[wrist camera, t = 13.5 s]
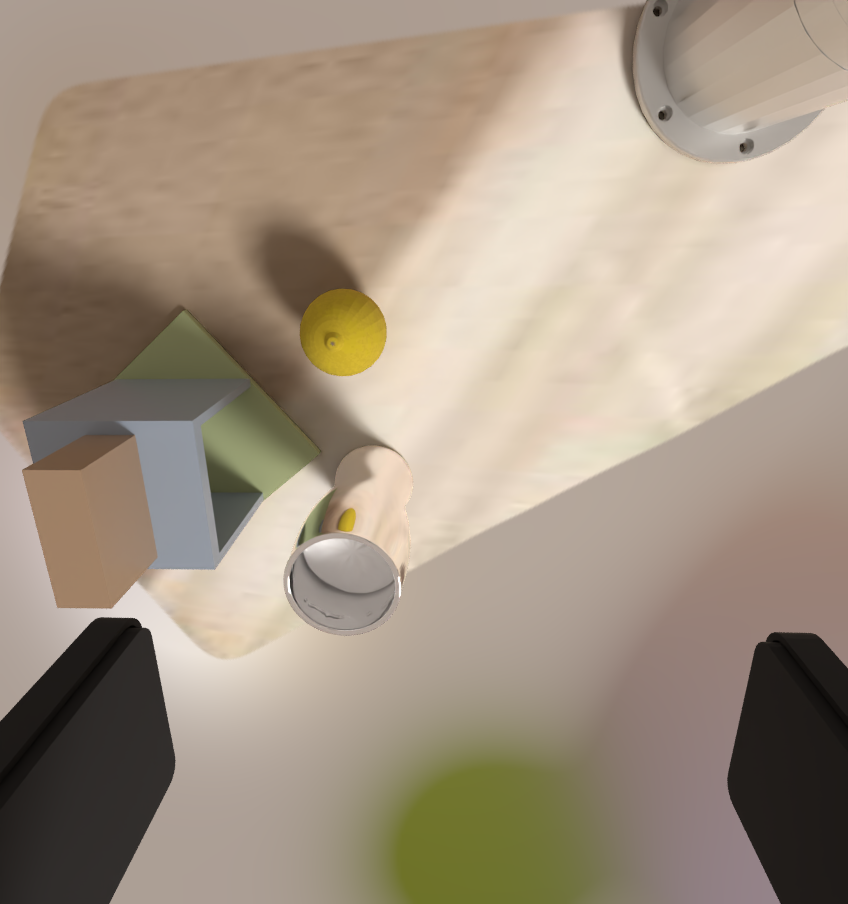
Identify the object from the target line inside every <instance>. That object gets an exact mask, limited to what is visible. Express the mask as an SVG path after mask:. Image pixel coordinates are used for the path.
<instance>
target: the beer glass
mask: <svg viewBox="0 0 848 904" xmlns="http://www.w3.org/2000/svg"><path fill="white" fill-rule="evenodd" d="M412 490H413V477H412V473H411V470H410V468H409V466H408V464H407V463H406V461H405V460H404V459H403V458H402V457H401V456H400V455H399V454H398V453H396V452H395V451H393V450H391V449H389V448H386V447H382V446H376V445H369V446H363V447H360V448H357V449H355V450H353V451H351V452H350V453H349V454H347V455H346V456H345V457H344V458H343V460H342V461H341V462H340V464H339V466H338V468H337V471H336V475H335V486H334V487H332V488H331V489H330V490H329V491H328V492H327V493H326V494H325V495H324V496H323V497H322V498H321V499H320V500H319V501H318V502H317V503H316V505H315V506H314V507H313V508H312V509H311V511H310V512H309V514H308V515H307V517H306V519H305V521H304V522H303V524H302V526H301V528H300V530H299V533H298V535H297V537H296V540H295V543H294V546H293V549H292V551H291V555H290V558H289V560H288V562H287V565H286V567H285V571H284V590H285V594H286V597H287V599H288V601H289V603H290V605H291V607H292V608H293V610H294V611H295V612H296V613H297V614H298V616H299V617H300V618H302V619H303V620H304V621H305V622H306V623H308V624H309V625H311V626H313V627H314V628H316V629H318V630H321V631H324V632H326V633H330V634H335V635H345V636H347V635H348V636H349V635H358V634H363V633H366V632H369V631H371V630H374V629H376V628H377V627H379V626H381V625H382V624H383V623H385V622H386V621H387V620H388V619H389V618H390V617H391V615H392V614H393V613H394V611H395V609H396V608H397V606H398V603H399V600H400V596H401V590H402V587H403V584H404V580H405V577H406V573H407V569H408V563H409V558H410V545H411V537H410V528H409V522H408V517H407V513H406V509H405V506H406V504H407V503H408V501H409V499H410V497H411V494H412Z"/></svg>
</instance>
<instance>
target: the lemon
mask: <svg viewBox="0 0 848 904" xmlns="http://www.w3.org/2000/svg"><path fill="white" fill-rule="evenodd" d="M386 337H387V336H386V323H385V319H384V316H383V314H382V312H381V310H380V309H379V307H378V306H377V305H376V303H375V302H374V301H373V300H372V299H371V298H369V297H368V296H366V295H365V294H363V293H361V292H358V291H355V290H352V289H335V290H330V291H328V292H326V293H324V294H322V295H320V296H318V297H317V298H316V299H315V300H314V301H313V302H312V303H310V305H309V306H308V308H307V310H306V311H305V313H304V315H303V318H302V321H301V324H300V340H301V345H302V348H303V350H304V352H305V354H306V356H307V357H308V359H309V360H310V361H311V362H312V364H314V365H315V366H316V367H317V368H319V369H320V370H322V371H324V372H326V373H328V374H331V375H336V376H351V375H355V374H358V373H361V372H363V371H364V370H366V369H367V368H369V367H371V366H372V365H373V364H374V362H375V361H376V360H377V359H378V358H379V357H380V355H381V353H382V351H383V349H384V346H385V342H386Z"/></svg>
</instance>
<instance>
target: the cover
mask: <svg viewBox="0 0 848 904" xmlns="http://www.w3.org/2000/svg"><path fill="white" fill-rule="evenodd" d="M250 387H251V385H250V379H116V380H114V381H111V382H109V383H107V384H105V385H103V386H100V387H98V388H96V389H94V390H91V391H89V392H87V393H85V394H82V395H80V396H78V397H76V398H73V399H71V400H69V401H67V402H64V403H62V404H60V405H58V406H55V407H53V408H51V409H49V410H47V411H44V412H42V413H40V414H38V415H35V416H33V417H31V418H29V419H26V420H24V421H23V424H24V428H25V432H26V436H27V440H28V444H29V448H30V452H31V456H32V460H33V464H32V465H30V466H28V467H27V468H25V469H23V470H22V472H23V476H24V480H25V484H26V488H27V492H28V496H29V499H30V503H31V507H32V511H33V515H34V518H35V523H36V526H37V530H38V534H39V538H40V542H41V546H42V550H43V554H44V558H45V561H46V565H47V569H48V573H49V577H50V581H51V585H52V589H53V592H54V596H55V600H56V604H57V607H58V608H112V607H113V606H114V605H115V604H116V603H117V602H118V601H119V600H120V598H121V597H122V596H123V595H124V594H125V593H126V592H127V591H128V590H129V589H130V587H131V586H132V585H133V584H134V583H135V582H136V581H137V580H138V579H139V577H140V576H141V575H142V574H143V573H144V572H145V571H146V570H147V569H214V570H215V569H216V567H217V566H218V564H219V563H220V562H221V560H222V559H223V557H224V556H225V554H226V553H227V552H228V550H229V549H230V547H231V546H232V544H233V543H234V541H235V540H236V539H237V537H238V536H239V534H240V533H241V531H242V530H243V529H244V527H245V526H246V524H247V523H248V521H249V520H250V519H251V517H252V516H253V514H254V513H255V511H256V510H257V509H258V507H259V506H260V504H261V503H262V501H263V500H264V498H263V493H211V492H210V485H209V479H208V472H207V465H206V458H205V451H204V444H203V438H202V431H201V425H202V424H203V423H205V422H206V421H207V420H209V419H210V418H211V417H212V416H214V415H215V414H216V413H218V412H219V411H220V410H221V409H223V408H224V407H225V406H227V405H228V404H229V403H230V402H232V401H233V400H234V399H235V398H237V397H238V396H239V395H241V394H242V393H243V392H244V391H246V390H247V389H248V388H250Z"/></svg>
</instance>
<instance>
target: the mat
mask: <svg viewBox="0 0 848 904" xmlns="http://www.w3.org/2000/svg"><path fill="white" fill-rule="evenodd" d="M116 379H250V385H251V387H250V388H248V389H247V390H246V391H244V392H243V393H242V394H241V395H239V396H238V397H237V398H235V399H234V400H233V401H232V402H230V403H229V404H228V405H227V406H225V407H224V408H223V409H221V410H220V411H219V412H218V413H216V414H215V415H214V416H212V417H211V418H210V419H209V420H207V421H206V422H205V423H203V424H202V425H201V431H202V438H203V444H204V451H205V458H206V465H207V472H208V479H209V485H210V492H211V493H263V498H264V500H265V499H266V498H267V497H269V496H270V495H271V494H272V493H273V492H274V491H276V490H277V489H278V488H279V487H280V486H282V485H283V484H284V483H285V482H286V481H288V480H289V479H290V478H291V477H292V476H294V475H295V474H296V473H297V472H298V471H300V470H301V469H302V468H303V467H304V466H306V465H307V464H308V463H309V462H310V461H312V460H313V459H314V458H315V457H316V456H318V455H319V454H320V452H321V451H320V450H319V448H318V447H317V446H316V445H315V444H314V443H313V442H312V441H311V440H310V439H309V438H308V437H307V436H306V435H305V434H304V433H303V432H302V431H301V430H300V429H299V427H298V426H297V425H296V424H295V423H294V422H293V421H292V420H291V419H290V418H289V417H288V416H287V415H286V414H285V413H284V412H283V411H282V410H281V409H280V407H279V406H278V405H277V404H276V403H275V402H274V401H273V400H272V399H271V398H270V397H269V396H268V395H267V394H266V393H265V392H264V391H263V390H262V389H261V387H260V386H259V385H258V384H257V383H256V382H255V381H254V380H253V379H252V378H251V377H250V376H249V375H248V374H247V373H246V372H245V371H244V370H243V369H242V367H241V366H240V365H239V364H238V363H237V362H236V361H235V360H234V359H233V358H232V357H231V356H230V355H229V354H228V353H227V352H226V351H225V350H224V349H223V347H222V346H221V345H220V344H219V343H218V342H217V341H216V340H215V339H214V338H213V337H212V336H211V335H210V334H209V333H208V332H207V331H206V330H205V329H204V327H203V326H202V325H201V324H200V323H199V322H198V321H197V320H196V319H195V318H194V317H193V316H192V315H191V314H190V313H189V312H188V311H187V310H184V311H182V312H181V313H180V314H179V315H178V316H177V317H176V318H175V319H174V320H173V321H172V322H171V323H170V324H169V325H168V326H167V327H166V328H165V329H164V330H163V331H162V332H161V333H160V334H159V335H158V336H157V337H156V338H155V339H154V340H153V341H152V342H151V343H150V344H149V345H148V346H147V347H146V348H145V349H144V350H143V351H142V352H141V353H140V354H139V355H138V356H137V357H136V358H135V359H134V360H133V361H132V362H131V363H130V364H129V365H128V366H127V367H126V368H125V369H124V370H123V371H122V372H121V373H120V374H119V375H118V376H117V377H116V378H115V379H114V380H116ZM114 380H113V381H114ZM264 500H263V501H264ZM263 501H262V502H263Z"/></svg>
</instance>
